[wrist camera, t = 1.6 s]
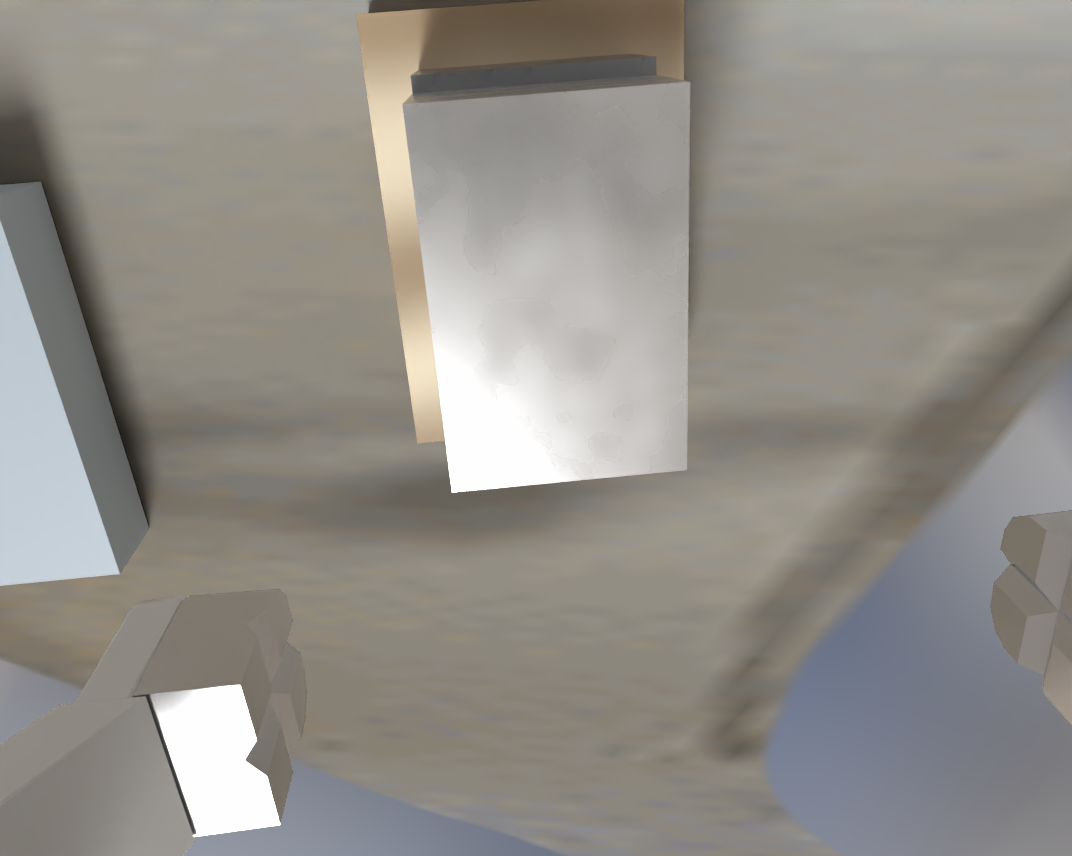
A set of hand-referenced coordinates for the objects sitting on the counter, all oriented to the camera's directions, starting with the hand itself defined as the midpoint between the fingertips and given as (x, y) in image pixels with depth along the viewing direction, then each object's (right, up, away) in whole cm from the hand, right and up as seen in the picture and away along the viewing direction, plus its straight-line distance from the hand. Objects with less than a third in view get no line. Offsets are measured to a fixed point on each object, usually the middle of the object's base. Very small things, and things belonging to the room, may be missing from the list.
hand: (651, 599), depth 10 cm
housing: (-1, +8, +16) cm, 18 cm away
